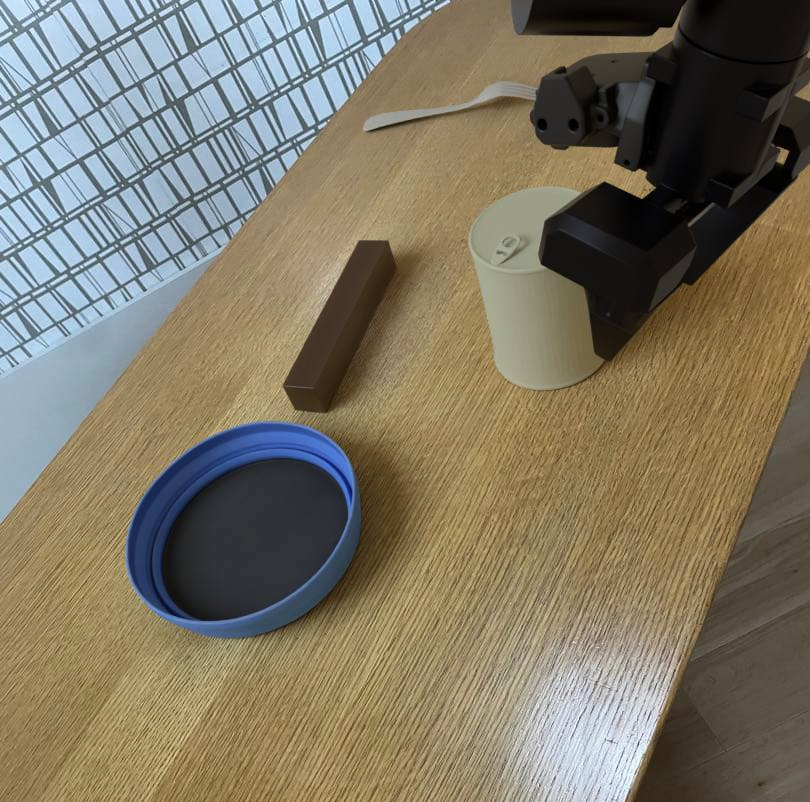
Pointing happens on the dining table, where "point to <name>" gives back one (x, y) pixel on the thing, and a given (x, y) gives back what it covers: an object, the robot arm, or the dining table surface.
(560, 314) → the can
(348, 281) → the rail
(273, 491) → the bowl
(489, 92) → the fork
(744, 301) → the dining table surface
